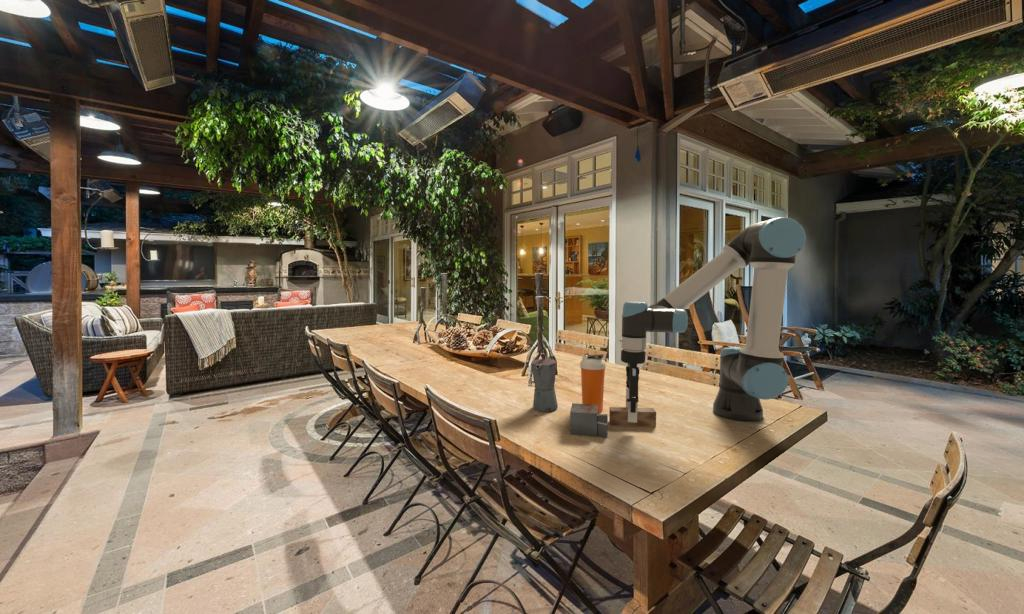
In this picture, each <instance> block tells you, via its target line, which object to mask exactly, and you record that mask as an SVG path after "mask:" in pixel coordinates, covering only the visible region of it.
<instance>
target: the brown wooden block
mask: <svg viewBox="0 0 1024 614" xmlns="http://www.w3.org/2000/svg"><path fill="white" fill-rule="evenodd" d="M608 412H609V413H608V414H609V415H608V417H609V418H608V419H609V424H610V426H612V427H615V426H616V427H647V428H648V427H649V428H651V427H652V428H654V427H657V411H656V410H655V409H654V407H638V408H637V423H635V422H628V407H626V406H625V407H623V406H621V407H620V406H610V407H609V411H608Z"/></svg>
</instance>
